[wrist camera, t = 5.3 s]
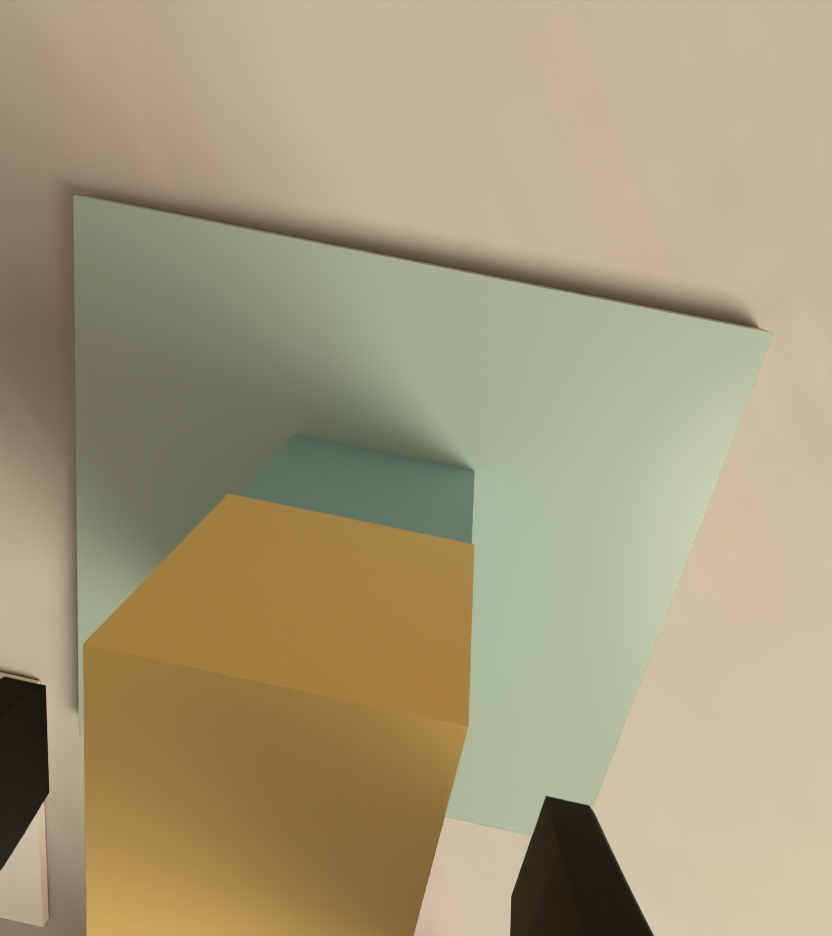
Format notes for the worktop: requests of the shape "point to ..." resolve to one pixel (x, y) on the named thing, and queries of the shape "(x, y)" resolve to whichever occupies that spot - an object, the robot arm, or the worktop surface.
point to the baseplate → (414, 450)
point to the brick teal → (369, 487)
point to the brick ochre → (276, 728)
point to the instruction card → (26, 871)
